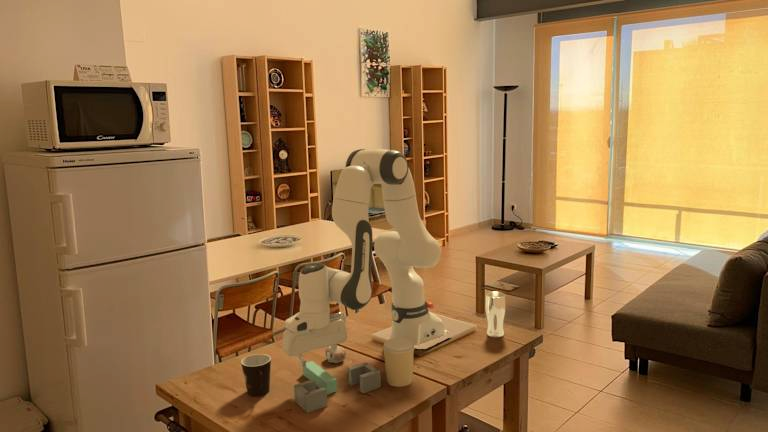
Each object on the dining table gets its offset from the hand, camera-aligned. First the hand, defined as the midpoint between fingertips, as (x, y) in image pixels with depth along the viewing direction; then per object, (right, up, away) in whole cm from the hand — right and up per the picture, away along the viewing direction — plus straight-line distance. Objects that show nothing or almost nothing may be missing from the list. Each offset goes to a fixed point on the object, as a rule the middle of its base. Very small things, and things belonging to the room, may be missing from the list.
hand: (316, 362), depth 177 cm
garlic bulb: (+4, -4, +17) cm, 18 cm away
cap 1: (0, -9, -11) cm, 14 cm away
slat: (+1, -7, +2) cm, 7 cm away
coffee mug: (-17, -9, -4) cm, 19 cm away
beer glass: (+60, +1, +34) cm, 69 cm away
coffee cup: (+25, -6, +1) cm, 26 cm away
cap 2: (+14, -7, -1) cm, 16 cm away
